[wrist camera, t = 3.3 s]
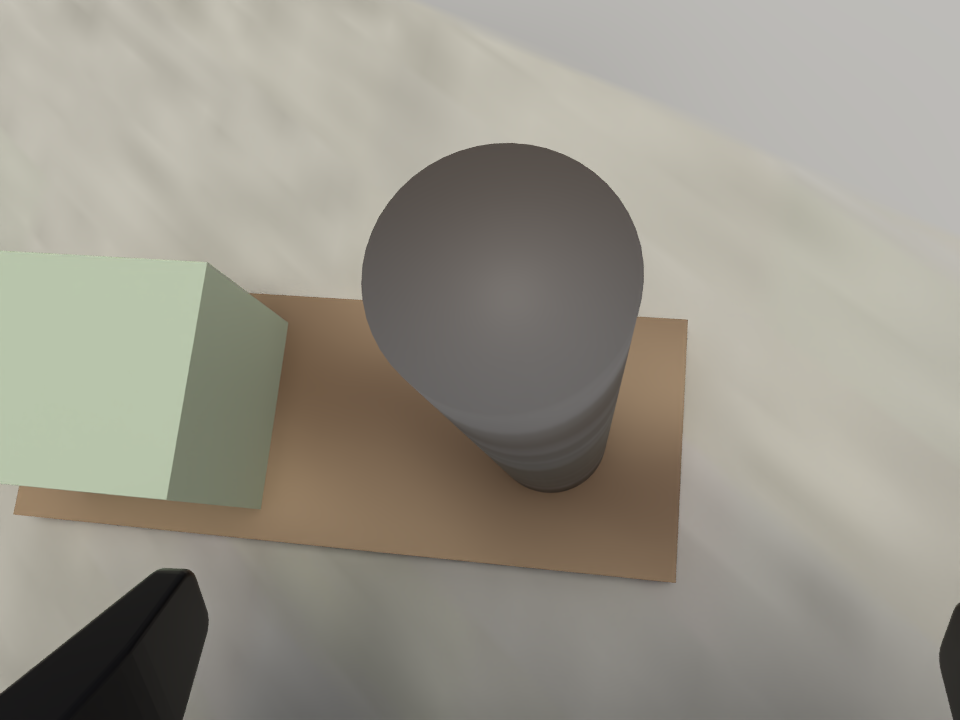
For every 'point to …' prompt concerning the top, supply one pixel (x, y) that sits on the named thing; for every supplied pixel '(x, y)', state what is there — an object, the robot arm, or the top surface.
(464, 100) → the top surface
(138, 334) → the sage cube
